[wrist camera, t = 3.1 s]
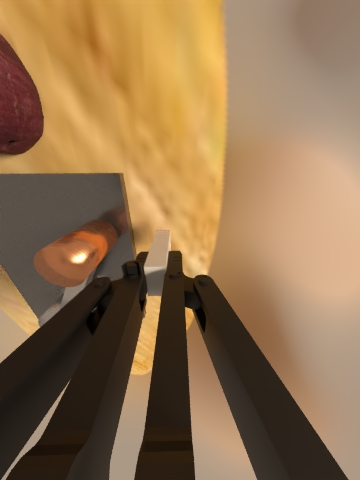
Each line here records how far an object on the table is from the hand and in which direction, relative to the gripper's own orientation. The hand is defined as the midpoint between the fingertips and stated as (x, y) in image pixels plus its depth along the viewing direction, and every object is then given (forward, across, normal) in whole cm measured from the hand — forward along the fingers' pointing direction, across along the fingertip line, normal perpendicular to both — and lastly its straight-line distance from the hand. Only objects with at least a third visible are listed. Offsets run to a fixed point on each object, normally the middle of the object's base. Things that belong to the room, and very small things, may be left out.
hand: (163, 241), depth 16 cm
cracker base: (+5, -15, -6) cm, 17 cm away
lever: (+2, -12, -8) cm, 15 cm away
